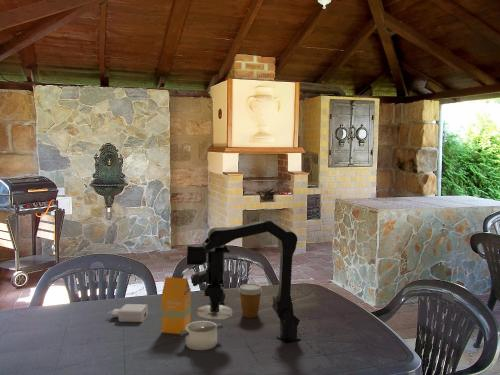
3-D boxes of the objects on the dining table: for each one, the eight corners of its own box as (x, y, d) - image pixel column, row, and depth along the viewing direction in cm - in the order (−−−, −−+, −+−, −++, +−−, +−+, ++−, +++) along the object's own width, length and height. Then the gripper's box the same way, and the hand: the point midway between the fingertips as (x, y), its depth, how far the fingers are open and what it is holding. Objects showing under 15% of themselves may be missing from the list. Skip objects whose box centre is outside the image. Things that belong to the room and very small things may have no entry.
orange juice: (184, 334, 168) (183, 281, 166) (161, 332, 170) (161, 280, 168) (191, 326, 176) (190, 275, 174) (169, 324, 177) (169, 274, 176)
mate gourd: (208, 300, 206) (208, 278, 205) (224, 300, 207) (225, 278, 206) (209, 306, 198) (210, 283, 198) (226, 305, 200) (227, 283, 199)
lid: (238, 316, 157) (239, 299, 157) (206, 322, 151) (206, 304, 151) (222, 305, 168) (222, 289, 168) (191, 310, 162) (191, 294, 161)
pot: (228, 344, 160) (228, 327, 159) (187, 354, 152) (187, 336, 151) (214, 333, 169) (214, 317, 169) (174, 342, 161) (174, 325, 161)
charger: (112, 313, 189) (148, 314, 188) (104, 322, 180) (141, 323, 179) (112, 302, 188) (148, 303, 188) (104, 310, 179) (141, 311, 179)
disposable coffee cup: (261, 319, 183) (262, 290, 182) (238, 319, 184) (238, 290, 182) (261, 311, 193) (262, 283, 192) (239, 310, 193) (239, 283, 192)
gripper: (195, 257, 167) (194, 299, 169) (189, 271, 149) (188, 317, 150) (225, 258, 167) (224, 299, 169) (223, 272, 149) (222, 318, 150)
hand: (214, 308), depth 159 cm, fingers closed on lid, 3 cm apart
